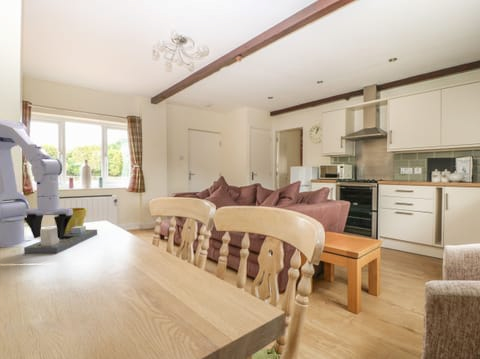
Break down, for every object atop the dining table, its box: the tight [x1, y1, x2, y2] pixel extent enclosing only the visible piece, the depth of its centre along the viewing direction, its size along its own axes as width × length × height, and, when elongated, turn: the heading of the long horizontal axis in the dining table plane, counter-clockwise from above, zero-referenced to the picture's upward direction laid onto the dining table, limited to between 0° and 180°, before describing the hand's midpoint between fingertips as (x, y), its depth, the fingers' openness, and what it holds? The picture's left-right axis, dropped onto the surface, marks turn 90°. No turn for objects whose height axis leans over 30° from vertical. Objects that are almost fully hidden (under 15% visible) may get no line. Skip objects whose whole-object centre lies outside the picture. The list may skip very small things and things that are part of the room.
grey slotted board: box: [23, 229, 98, 255], centre depth 93 cm, size 10×24×2 cm, turn 1°
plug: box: [39, 226, 59, 246], centre depth 85 cm, size 4×4×7 cm
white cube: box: [71, 225, 87, 234], centre depth 101 cm, size 4×4×4 cm
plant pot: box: [57, 207, 87, 232], centre depth 112 cm, size 10×10×10 cm
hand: (49, 237), depth 85 cm, fingers open, 7 cm apart
